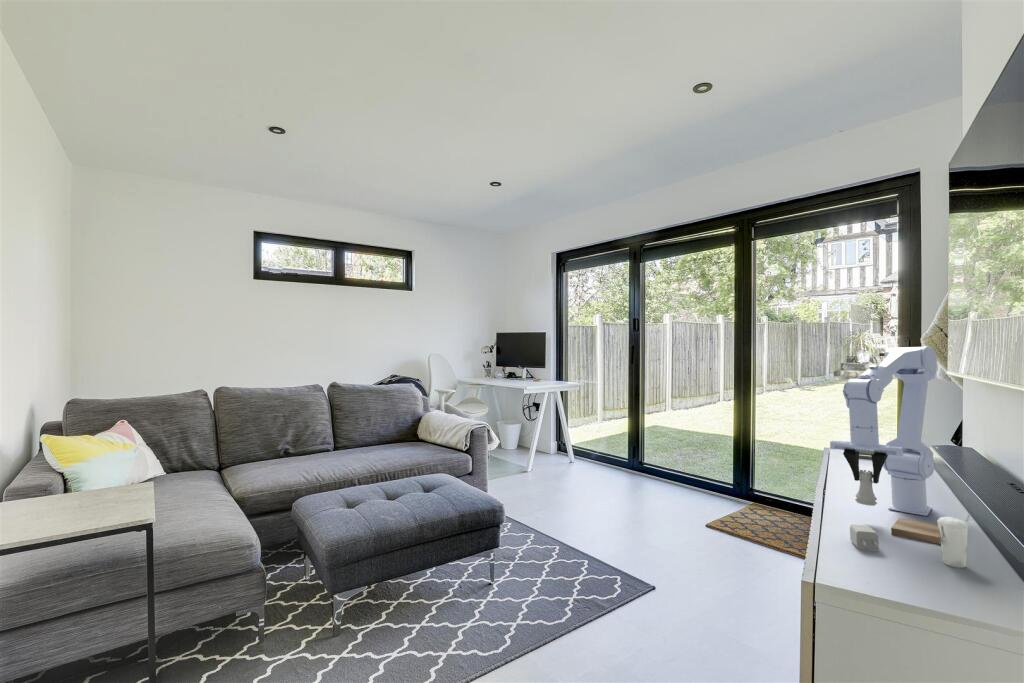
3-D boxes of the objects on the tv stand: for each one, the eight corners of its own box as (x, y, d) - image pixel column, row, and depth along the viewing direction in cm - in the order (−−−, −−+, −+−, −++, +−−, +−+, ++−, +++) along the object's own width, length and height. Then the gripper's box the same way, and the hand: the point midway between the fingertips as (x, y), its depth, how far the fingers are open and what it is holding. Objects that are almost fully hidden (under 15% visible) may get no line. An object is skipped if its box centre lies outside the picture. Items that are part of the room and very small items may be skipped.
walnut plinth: (899, 523, 117) (899, 517, 117) (954, 534, 110) (954, 527, 110) (891, 534, 110) (891, 527, 110) (949, 546, 103) (949, 539, 103)
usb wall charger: (872, 544, 105) (871, 526, 105) (883, 556, 99) (882, 537, 99) (850, 542, 106) (849, 524, 107) (860, 554, 100) (859, 534, 100)
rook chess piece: (850, 500, 120) (850, 469, 121) (866, 500, 121) (866, 468, 121) (866, 506, 116) (866, 473, 116) (882, 505, 117) (882, 473, 117)
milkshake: (981, 570, 91) (978, 518, 92) (949, 568, 92) (946, 516, 93) (964, 560, 96) (961, 510, 96) (933, 559, 97) (931, 509, 97)
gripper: (825, 425, 122) (828, 479, 121) (897, 431, 111) (900, 489, 111) (833, 423, 127) (835, 474, 126) (903, 428, 116) (905, 484, 115)
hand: (866, 481), depth 119 cm, fingers closed on rook chess piece, 3 cm apart
